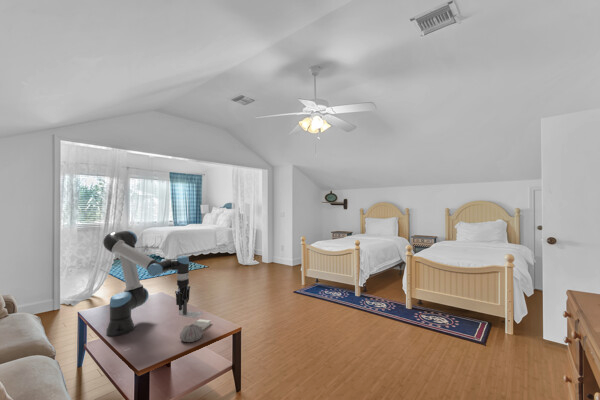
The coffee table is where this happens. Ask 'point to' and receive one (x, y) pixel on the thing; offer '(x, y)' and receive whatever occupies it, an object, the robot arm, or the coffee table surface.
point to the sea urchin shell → (191, 333)
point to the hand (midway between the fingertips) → (182, 313)
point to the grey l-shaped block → (189, 313)
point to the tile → (202, 323)
